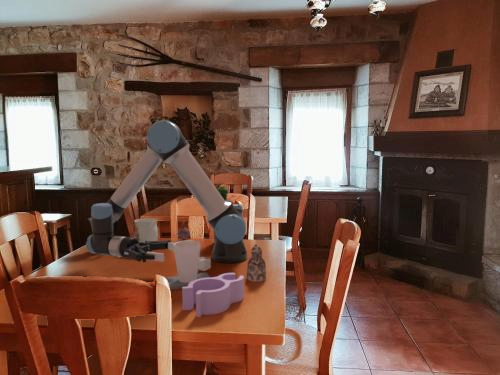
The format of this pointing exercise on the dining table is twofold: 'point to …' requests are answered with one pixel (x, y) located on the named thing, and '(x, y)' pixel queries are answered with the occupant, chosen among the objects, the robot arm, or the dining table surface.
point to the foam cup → (187, 259)
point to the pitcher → (146, 230)
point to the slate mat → (176, 284)
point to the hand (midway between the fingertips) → (174, 252)
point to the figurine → (256, 266)
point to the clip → (213, 294)
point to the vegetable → (183, 233)
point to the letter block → (204, 263)
